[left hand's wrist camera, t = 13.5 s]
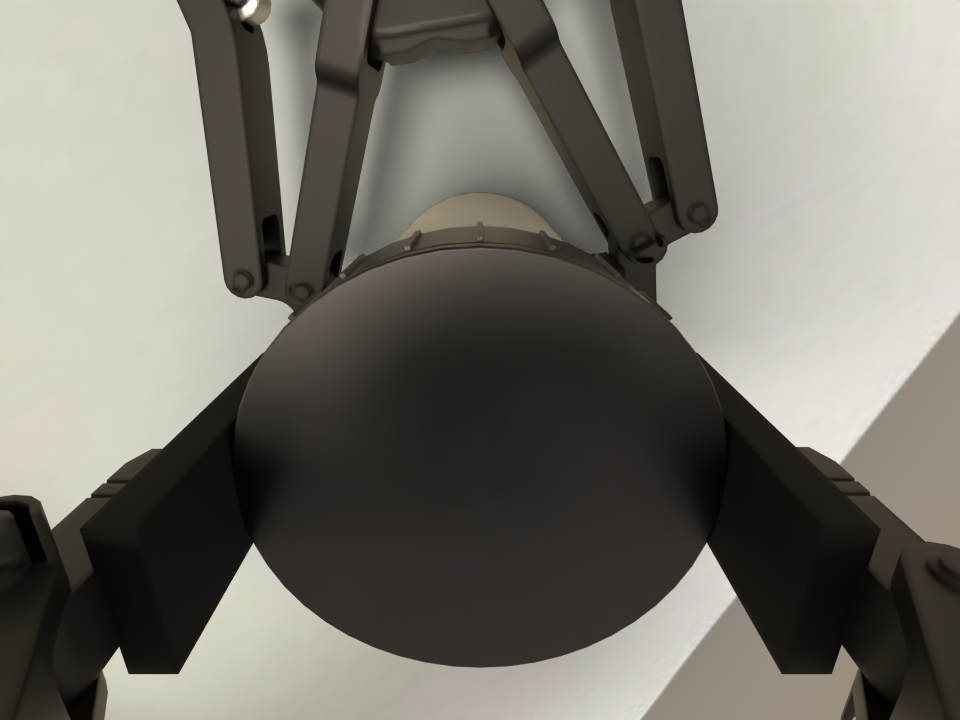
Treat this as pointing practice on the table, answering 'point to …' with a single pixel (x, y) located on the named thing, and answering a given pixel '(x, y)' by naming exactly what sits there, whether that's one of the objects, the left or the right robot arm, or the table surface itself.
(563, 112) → the right robot arm
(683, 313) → the table surface
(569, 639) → the lid
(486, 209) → the jar
